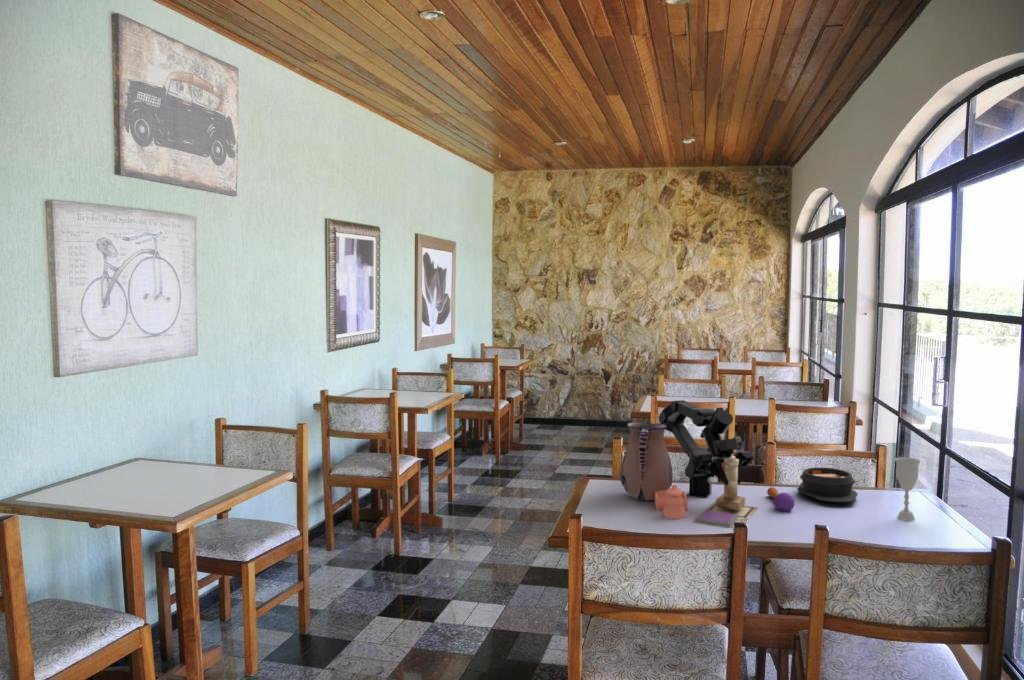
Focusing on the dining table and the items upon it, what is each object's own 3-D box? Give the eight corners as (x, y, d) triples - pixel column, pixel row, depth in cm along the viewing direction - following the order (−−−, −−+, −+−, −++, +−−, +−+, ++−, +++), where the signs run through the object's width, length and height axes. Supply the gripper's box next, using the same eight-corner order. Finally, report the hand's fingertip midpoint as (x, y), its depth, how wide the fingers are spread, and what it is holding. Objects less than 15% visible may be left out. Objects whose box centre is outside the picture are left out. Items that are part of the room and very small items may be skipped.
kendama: (782, 485, 246) (798, 497, 226) (779, 502, 246) (794, 515, 226) (764, 481, 247) (778, 492, 227) (761, 498, 247) (775, 511, 227)
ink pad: (695, 521, 218) (696, 518, 218) (705, 513, 227) (705, 509, 227) (729, 527, 213) (729, 523, 213) (738, 518, 222) (738, 514, 222)
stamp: (715, 506, 229) (716, 460, 228) (722, 501, 235) (724, 455, 234) (738, 510, 225) (739, 463, 224) (744, 505, 231) (746, 458, 230)
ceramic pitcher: (669, 491, 254) (670, 419, 252) (676, 508, 233) (676, 431, 231) (619, 489, 256) (619, 419, 255) (620, 507, 235) (620, 430, 234)
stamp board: (692, 523, 218) (692, 521, 218) (714, 502, 240) (714, 500, 240) (739, 530, 211) (739, 528, 211) (758, 508, 233) (758, 506, 233)
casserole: (788, 486, 259) (788, 463, 258) (842, 487, 257) (843, 464, 256) (809, 507, 234) (809, 481, 233) (870, 508, 232) (870, 482, 232)
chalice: (896, 513, 226) (897, 456, 225) (921, 517, 222) (922, 459, 221) (890, 519, 221) (892, 460, 219) (916, 523, 216) (917, 463, 215)
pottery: (654, 502, 239) (654, 473, 239) (684, 503, 238) (684, 474, 238) (658, 519, 222) (659, 488, 221) (690, 520, 220) (691, 488, 220)
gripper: (698, 429, 230) (716, 472, 220) (751, 426, 235) (770, 468, 225) (686, 448, 238) (702, 491, 228) (737, 445, 243) (755, 486, 233)
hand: (733, 483), depth 228 cm, fingers closed on stamp, 4 cm apart
